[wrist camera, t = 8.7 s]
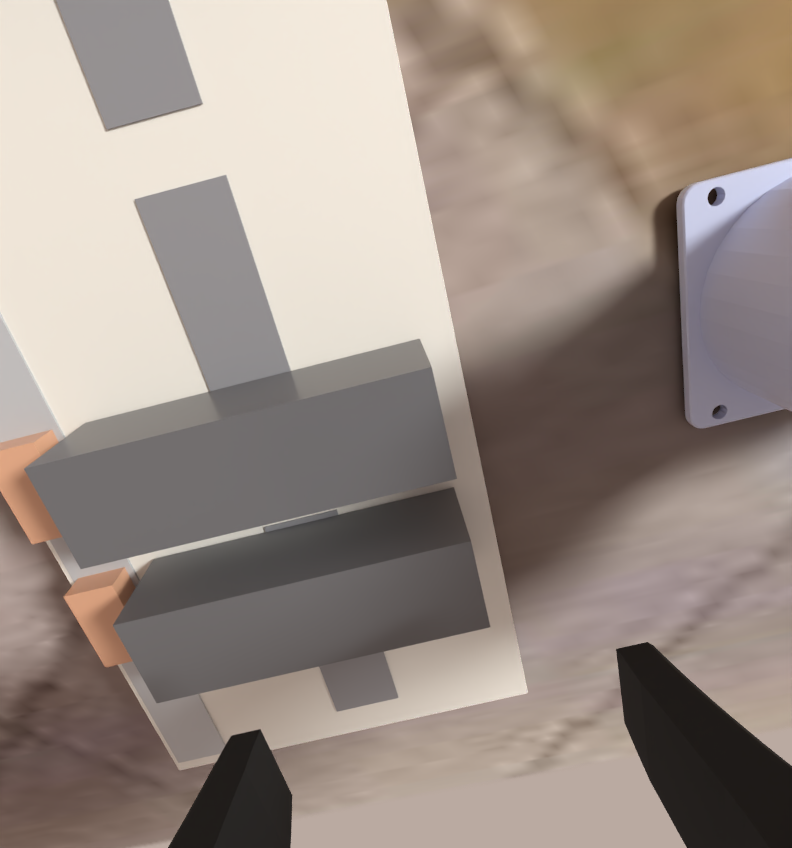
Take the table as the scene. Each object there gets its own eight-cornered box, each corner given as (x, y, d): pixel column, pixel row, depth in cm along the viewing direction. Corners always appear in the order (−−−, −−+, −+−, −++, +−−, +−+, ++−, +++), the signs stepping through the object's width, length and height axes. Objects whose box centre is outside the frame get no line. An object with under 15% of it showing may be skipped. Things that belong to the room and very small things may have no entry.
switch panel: (279, -470, 11) (250, -701, 8) (514, 653, 22) (535, 715, 20) (-346, -271, 12) (-571, -424, 9) (194, 725, 23) (170, 796, 20)
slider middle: (419, 338, 15) (431, 367, 12) (441, 433, 16) (457, 478, 14) (84, 422, 16) (23, 468, 13) (128, 509, 17) (80, 569, 14)
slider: (453, 487, 17) (471, 541, 14) (471, 563, 18) (490, 627, 15) (153, 559, 17) (112, 625, 15) (188, 629, 19) (156, 703, 16)
